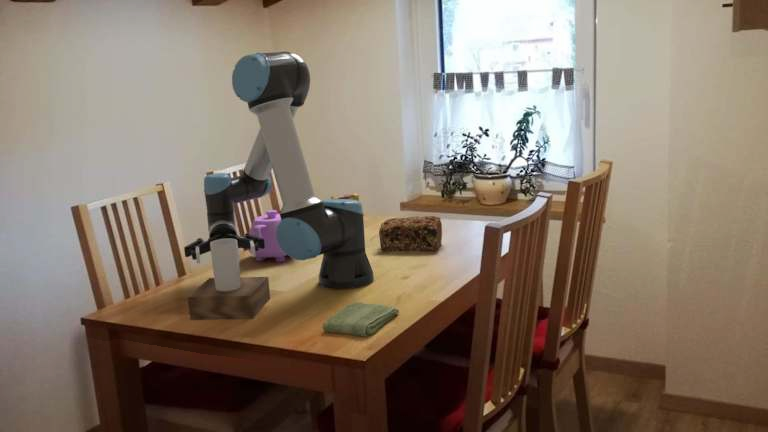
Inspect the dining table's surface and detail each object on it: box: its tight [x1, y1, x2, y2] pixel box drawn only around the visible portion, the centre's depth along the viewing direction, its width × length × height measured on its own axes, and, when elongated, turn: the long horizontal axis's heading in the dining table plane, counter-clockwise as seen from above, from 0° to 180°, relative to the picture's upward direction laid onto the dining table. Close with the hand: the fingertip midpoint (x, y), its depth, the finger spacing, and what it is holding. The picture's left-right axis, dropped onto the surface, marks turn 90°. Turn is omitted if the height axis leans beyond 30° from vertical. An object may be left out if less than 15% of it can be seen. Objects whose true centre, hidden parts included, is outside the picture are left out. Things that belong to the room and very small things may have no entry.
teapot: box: [247, 209, 290, 263], centre depth 250 cm, size 20×20×15 cm
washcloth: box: [321, 301, 400, 338], centre depth 189 cm, size 13×18×3 cm
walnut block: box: [187, 276, 271, 321], centre depth 204 cm, size 16×16×6 cm
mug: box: [210, 238, 241, 292], centre depth 202 cm, size 10×7×12 cm, turn 161°
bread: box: [378, 215, 443, 252], centre depth 254 cm, size 19×11×10 cm, turn 76°
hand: (226, 254), depth 199 cm, fingers open, 13 cm apart
